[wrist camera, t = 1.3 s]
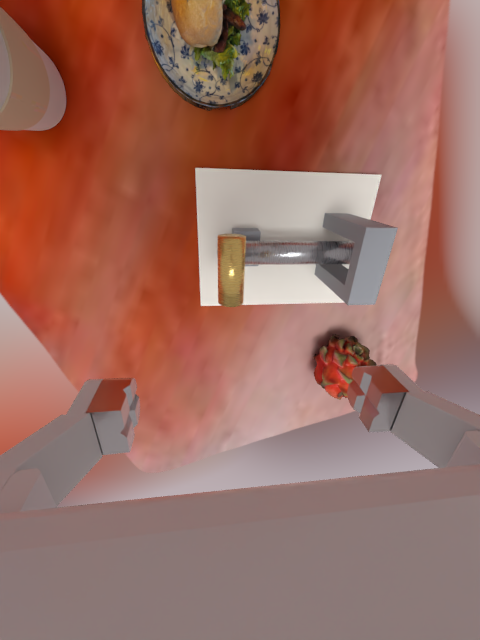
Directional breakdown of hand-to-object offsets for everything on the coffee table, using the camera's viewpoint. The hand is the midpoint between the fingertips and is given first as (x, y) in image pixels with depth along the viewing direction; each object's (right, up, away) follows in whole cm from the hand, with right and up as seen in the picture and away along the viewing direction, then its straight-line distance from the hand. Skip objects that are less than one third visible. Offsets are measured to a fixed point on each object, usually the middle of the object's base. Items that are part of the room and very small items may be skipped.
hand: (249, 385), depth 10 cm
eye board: (+5, +12, +24) cm, 28 cm away
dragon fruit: (+15, -3, +34) cm, 38 cm away
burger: (-3, +29, +15) cm, 32 cm away
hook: (+6, +11, +23) cm, 26 cm away
